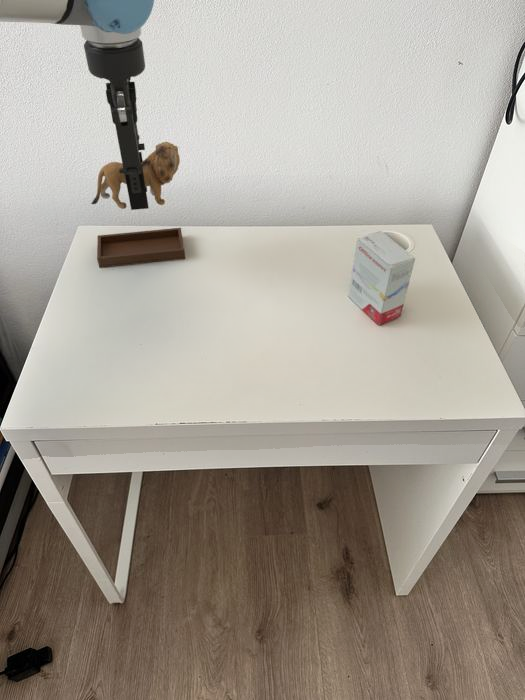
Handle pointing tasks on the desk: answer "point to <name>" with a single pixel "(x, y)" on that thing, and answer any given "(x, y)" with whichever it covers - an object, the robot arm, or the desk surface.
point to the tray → (140, 247)
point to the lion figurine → (155, 173)
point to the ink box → (380, 277)
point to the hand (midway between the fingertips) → (139, 199)
